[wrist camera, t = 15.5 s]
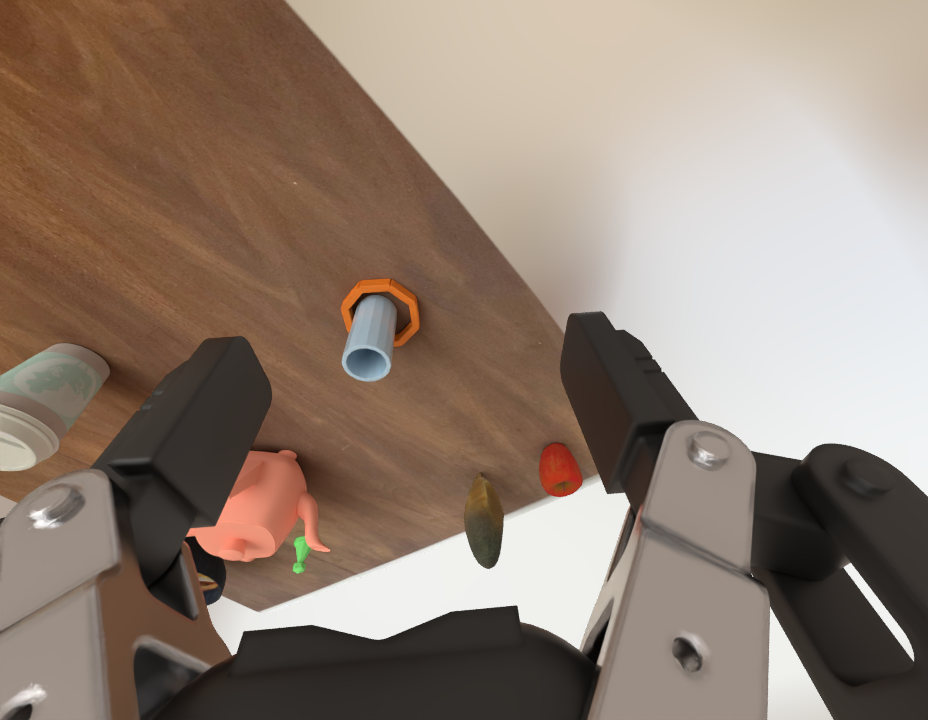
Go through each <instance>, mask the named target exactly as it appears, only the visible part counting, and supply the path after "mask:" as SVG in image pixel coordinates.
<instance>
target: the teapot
mask: <svg viewBox="0 0 928 720" xmlns="http://www.w3.org/2000/svg"><path fill="white" fill-rule="evenodd" d="M296 458H297V455H296V454H295V453H294V452H292V451H289V450H282V451H280V452H279V453H270V452H261V451H249V453H248V456H247V458H246V460H245V462H244V464H243V467H242V469H241V471H240V473H239V475H238V478H237V480H236V482H235V484H234V486H233V489H232V491H231V493H230V495H229V497H228V500H227V502H226V504H225V506H224V508H223V511H222V513H221V515H220V517H219V519H218V522H217V524H216V526H213V527H201V528H190V530H189V532H188V534H187V536H186V537H190V536H195V537H196V539H197V541H198V543H199V544H200V546H201V547H202V548H203V549H204V550H205V551H206V552H208V553H209V554H211V555H214V556H219V557H221V558H223V559H225V560H231V561H235V560H241V561H243V562H249V561H252V560H254V559H255V558H264V557H269V556H271V555H273V554H274V553H275V552H276V550H277V549H278V548H279V547H280V545H281V544H282V543H283V541H284V540H285V539H286V537H287V536H288V534H289V533H290V531H291V530H292V528H293V527H294V525H295V523H296V521H297V519H298V517H300V518H302V519H303V520H304V522H305V540H306V543H307V544H308V546H309V547H310V548H312V549H314V550H317V551H323V552H329V551H330V549H329V548H328V547H326V546H325V545H324V544H323V543H322V542H321V541H320V539H319V536H318V530H317V526H318V508H317V504H316V502H315V500H314V498H313V497H312V496H311V495H310V494H309V493H307V486H306V482H305V478H304V475H303V473H302V470H301V468H300V466H299V465H298V463H297V462H296V461H295V459H296Z"/></svg>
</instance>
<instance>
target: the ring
mask: <svg viewBox="0 0 928 720" xmlns="http://www.w3.org/2000/svg"><path fill="white" fill-rule="evenodd" d="M386 291H389V292H390V293H392V294H393V295H395V296H396V297H397V298H399V299H400V300H402V301H403V302H405V303H406V304H407V305H409V309H410V315H411V322H410V323H409V324H408V325H407V326H406V327H405V328H404V329H403V330H402V331H401V332H400V333H399V334H395V337H394V345H393V347H398V346H401V345H403V344H404V343H405V342H406V341H407V340H408V339H409V338H410V337H411V336H412V335H413V334H414V333H415V332H416V331H417V330H418V329H419V327H420V319H419V311H418V304H417V297H415V295H414V294H412V293H411V292H410V291H408V290H407V289H405V288H404V287H403V286H401V285H400V284H399V283H397V282H396V281H394V280H393V279H392V280H391V279H390V278H389V279H374V280H361V282H358V283H357V284H356V286H355V287H354V288H353V289H352V291H351V292H350V293H349V294H348V295H347V297H346V298H345V299H344V300H343V303H342V306H341V311H342V315H343V318H344V321H345V325H346V328H347V332H349V333H350V329H351V326H352V322H353V319H354V314H353V310H352V307H351V306H352V305H353V304H354V303H355V302H356V300H357V299H358V298H359V297H360V296H361V294H362V293H371V292H386Z"/></svg>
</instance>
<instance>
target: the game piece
mask: <svg viewBox="0 0 928 720" xmlns="http://www.w3.org/2000/svg"><path fill="white" fill-rule="evenodd" d="M294 546H295V547H296V553H297V561H298V562H297V563H294V566H293V571H294V572H296V573H301V572H304V571H305V567H306V564H305V563H303V562H304V560H305V558H306V557H307V555H308V554H309V552H310V550H311V549H312V548H310V547H309V546H308V544H307V543H306V540H305V536H302V537H297V538H296V540H295V541H294Z"/></svg>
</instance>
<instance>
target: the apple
mask: <svg viewBox="0 0 928 720" xmlns="http://www.w3.org/2000/svg"><path fill="white" fill-rule="evenodd" d="M539 476H540V480H541V484H542V486H543V488H544V489H545V491H546V492H547V493H548V494H550V495H552V496H555V497H563V496H567V495H570V494H573V493H574V492H575V491H577V490H578V489H579V488H580V487H581V485H582V482H583V478H582V474H581V471H580V469H579V466H578V464H577V462H576V460H575V458H574V457H573V455H572V454H571V452H570V451H569V450H568V449H567V448H566V447H565V446H564V445H563V444H560V443H553V444H550V445H548V446H547V447H546V448H545V449H544V450H543V452H542V454H541V459H540V464H539Z"/></svg>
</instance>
